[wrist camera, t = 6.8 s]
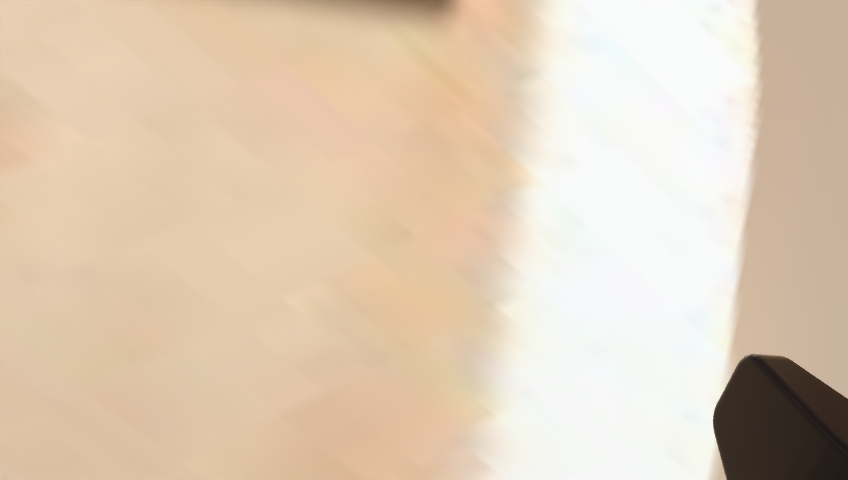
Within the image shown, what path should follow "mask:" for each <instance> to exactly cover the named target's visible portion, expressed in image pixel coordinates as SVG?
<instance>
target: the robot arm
mask: <svg viewBox="0 0 848 480" xmlns="http://www.w3.org/2000/svg"><path fill="white" fill-rule="evenodd" d="M713 427H714V433H715V437H716V441H717V445H718V448H719V452H720V456H721V460H722V464H723V467H724V471H725V475H726V479H727V480H848V399H847V398H845V397H844V396H843V395H841V394H840V393H838V392H837V391H835V390H834V389H832V388H831V387H829V386H828V385H826V384H825V383H824V382H822V381H821V380H819V379H818V378H816V377H815V376H813V375H812V374H810V373H809V372H807V371H806V370H805V369H803V368H802V367H800V366H799V365H797V364H796V363H794V362H793V361H791V360H790V359H788V358H785V357H782V356H774V355H762V354H750V355H747V356H745V357H744V358H743V359H742V360H740V362H739V363H738V365H737V367H736V369H735V371H734V373H733V374H732V376H731V378H730V380H729V382H728V384H727V386H726V388H725V390H724V392H723V393H722V395H721V397H720V399H719V401H718V403H717V405H716V407H715V411H714V416H713Z"/></svg>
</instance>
